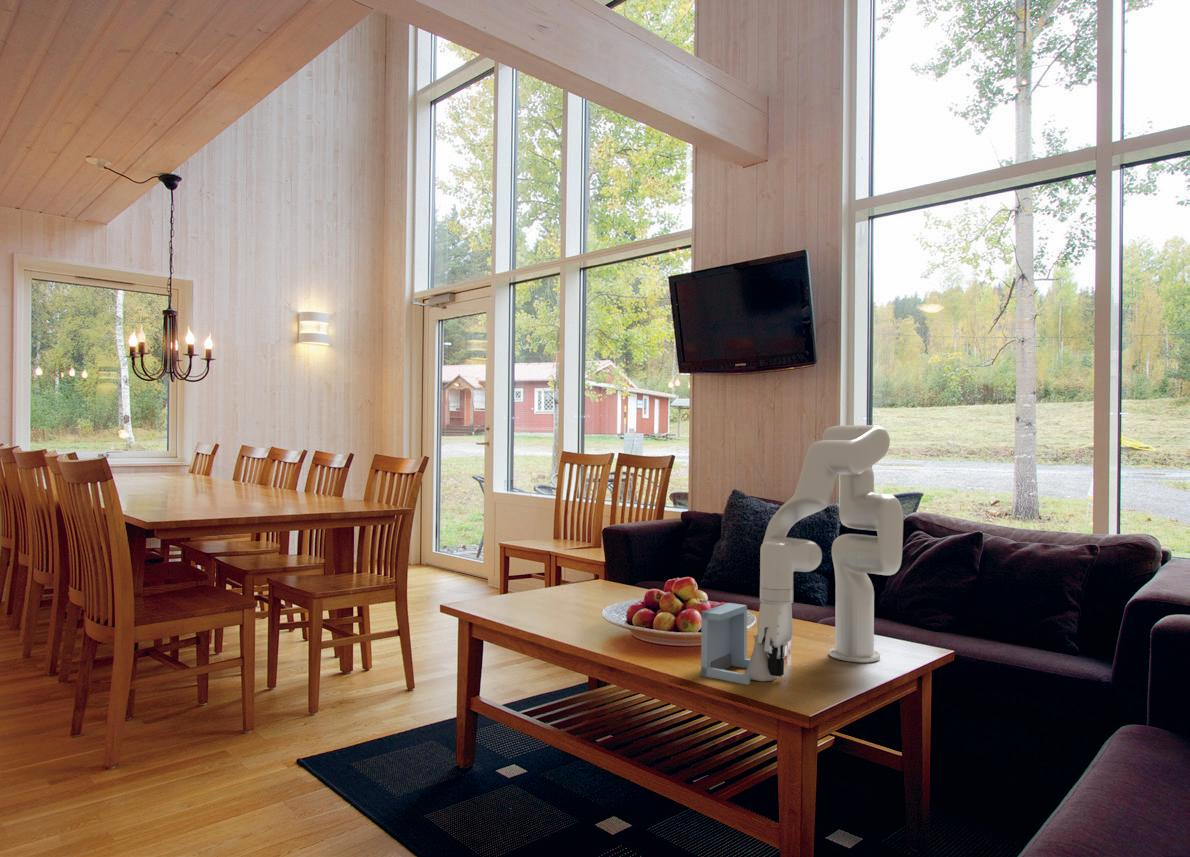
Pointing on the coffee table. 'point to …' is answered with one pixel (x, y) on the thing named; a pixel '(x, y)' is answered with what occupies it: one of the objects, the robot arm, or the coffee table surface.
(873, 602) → the robot arm
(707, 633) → the blue frame
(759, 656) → the flask
